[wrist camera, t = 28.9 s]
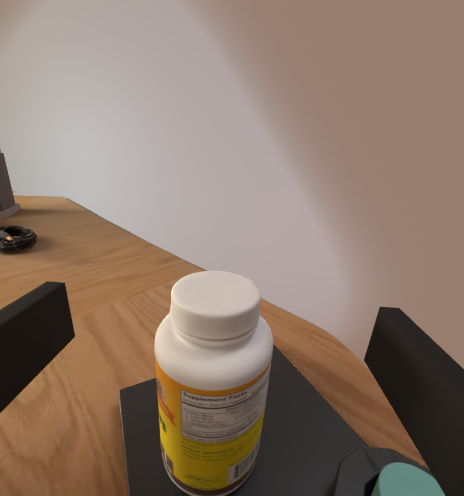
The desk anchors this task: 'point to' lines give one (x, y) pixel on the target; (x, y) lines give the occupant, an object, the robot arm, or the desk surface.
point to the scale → (265, 444)
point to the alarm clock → (6, 192)
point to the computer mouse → (15, 245)
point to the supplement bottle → (212, 381)
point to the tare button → (405, 482)
